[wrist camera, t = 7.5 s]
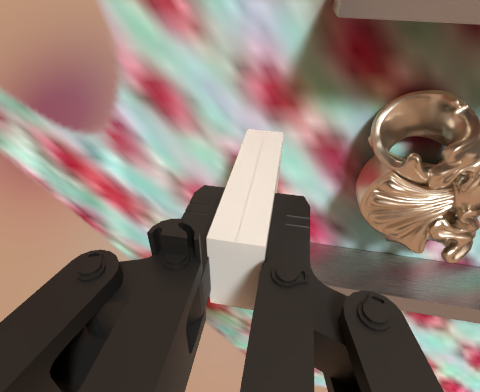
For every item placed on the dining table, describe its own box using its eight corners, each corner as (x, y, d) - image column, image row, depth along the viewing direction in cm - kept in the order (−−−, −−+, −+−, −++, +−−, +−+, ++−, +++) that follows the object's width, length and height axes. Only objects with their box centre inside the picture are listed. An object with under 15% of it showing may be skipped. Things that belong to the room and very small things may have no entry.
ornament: (506, 219, 16) (551, 276, 13) (362, 236, 18) (372, 287, 15) (529, 57, 12) (603, 85, 9) (340, 105, 14) (347, 141, 11)
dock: (290, 251, 19) (287, 291, 17) (337, -25, 11) (345, -24, 9) (540, 289, 17) (576, 339, 15) (822, -10, 9) (1003, -2, 7)
